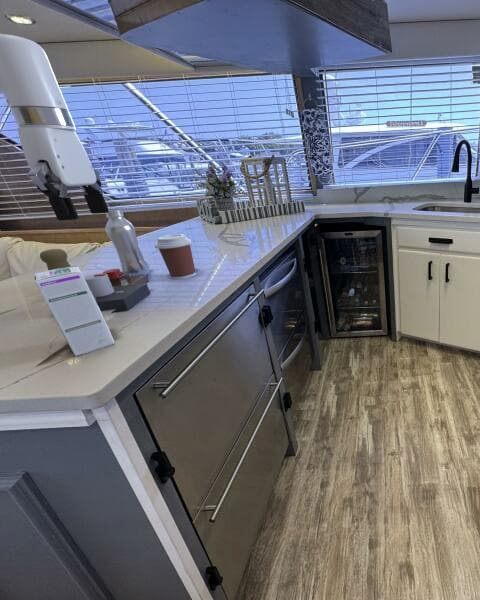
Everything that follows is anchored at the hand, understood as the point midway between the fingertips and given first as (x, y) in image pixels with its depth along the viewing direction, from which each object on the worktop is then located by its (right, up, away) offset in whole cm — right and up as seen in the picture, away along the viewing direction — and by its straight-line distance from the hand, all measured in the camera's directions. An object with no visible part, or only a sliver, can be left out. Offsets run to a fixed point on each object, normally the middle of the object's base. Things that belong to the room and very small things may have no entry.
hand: (85, 216), depth 66 cm
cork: (-31, -14, +26) cm, 43 cm away
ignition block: (-13, -14, +23) cm, 30 cm away
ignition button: (-14, -11, +22) cm, 28 cm away
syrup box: (+7, -26, -6) cm, 27 cm away
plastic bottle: (-16, -10, +33) cm, 38 cm away
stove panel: (-7, -19, +12) cm, 23 cm away
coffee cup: (-1, -10, +32) cm, 34 cm away
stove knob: (-7, -16, +11) cm, 20 cm away
